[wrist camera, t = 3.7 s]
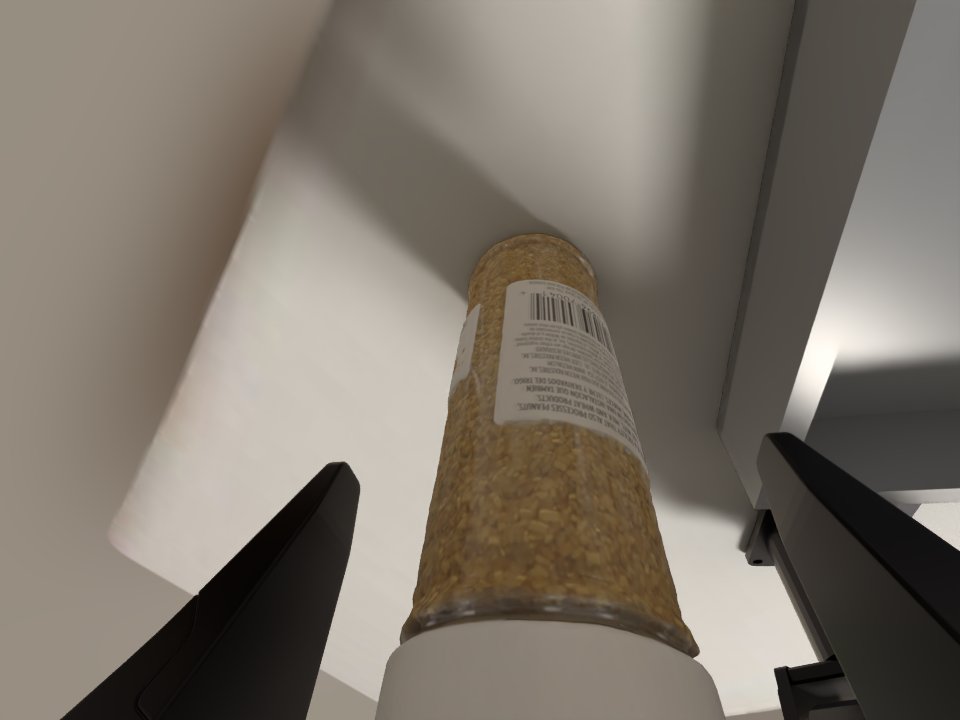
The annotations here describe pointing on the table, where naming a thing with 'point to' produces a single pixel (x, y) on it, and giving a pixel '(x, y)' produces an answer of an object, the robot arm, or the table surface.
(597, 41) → the table surface
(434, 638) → the sprinkles bottle
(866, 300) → the tote
